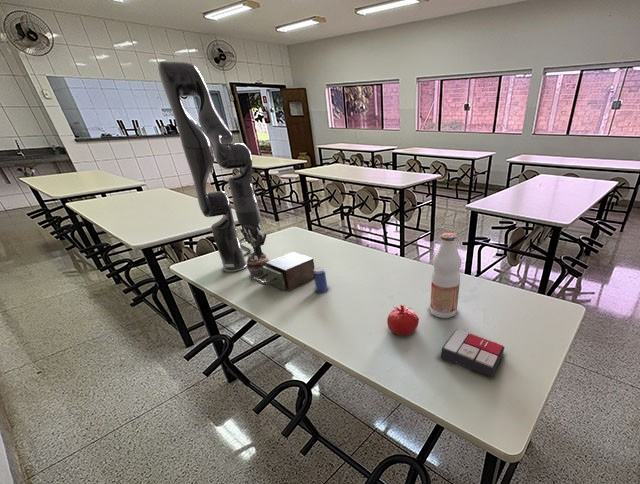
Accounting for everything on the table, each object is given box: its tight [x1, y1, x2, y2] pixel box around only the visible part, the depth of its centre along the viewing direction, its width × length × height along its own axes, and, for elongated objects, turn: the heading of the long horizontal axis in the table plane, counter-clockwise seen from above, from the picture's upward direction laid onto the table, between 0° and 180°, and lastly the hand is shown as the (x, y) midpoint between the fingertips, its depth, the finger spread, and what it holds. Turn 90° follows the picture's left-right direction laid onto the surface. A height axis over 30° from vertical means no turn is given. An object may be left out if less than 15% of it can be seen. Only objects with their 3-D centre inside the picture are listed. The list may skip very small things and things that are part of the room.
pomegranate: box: [386, 304, 420, 336], centre depth 101 cm, size 10×10×9 cm
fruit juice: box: [429, 232, 462, 319], centre depth 105 cm, size 9×9×28 cm
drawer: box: [252, 266, 287, 291], centre depth 127 cm, size 19×12×7 cm, turn 144°
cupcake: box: [246, 251, 270, 280], centre depth 135 cm, size 10×10×10 cm
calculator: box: [440, 328, 505, 378], centre depth 91 cm, size 11×4×15 cm
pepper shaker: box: [313, 266, 329, 293], centre depth 124 cm, size 4×4×9 cm
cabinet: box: [266, 251, 316, 291], centre depth 132 cm, size 14×13×9 cm
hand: (258, 255), depth 117 cm, fingers closed
